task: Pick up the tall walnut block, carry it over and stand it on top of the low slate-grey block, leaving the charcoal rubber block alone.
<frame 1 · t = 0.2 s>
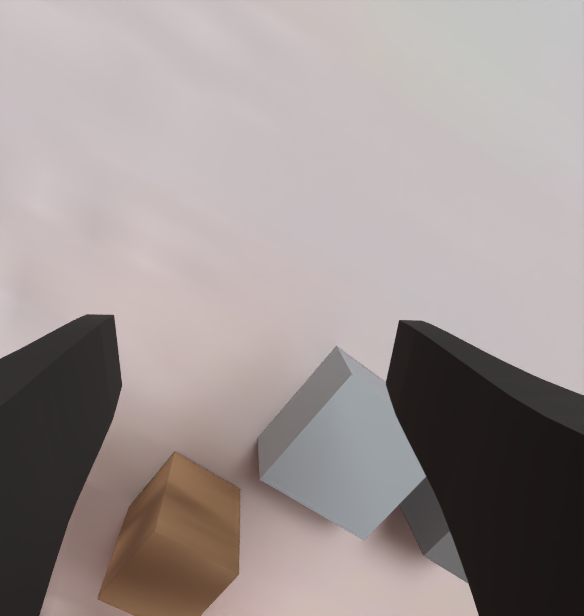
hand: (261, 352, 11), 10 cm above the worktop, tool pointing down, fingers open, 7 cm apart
slate base block: (342, 423, 24), on the worktop
walnut block: (185, 497, 24), on the worktop
charcoal block: (443, 484, 26), on the worktop
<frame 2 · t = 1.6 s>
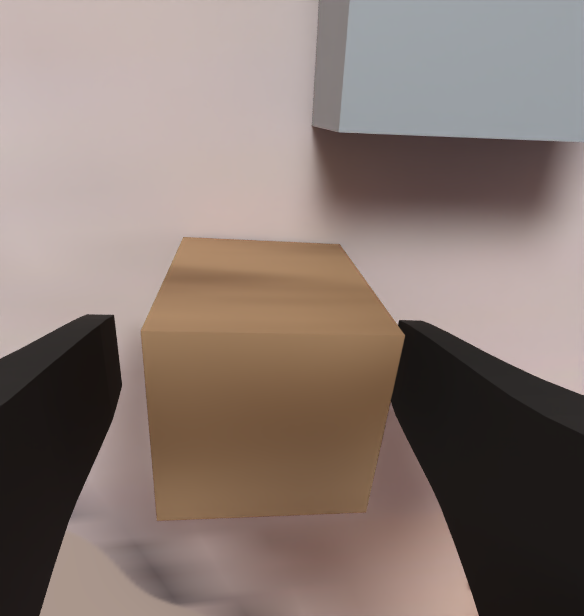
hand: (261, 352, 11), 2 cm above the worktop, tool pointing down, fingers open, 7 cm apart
walnut block: (259, 311, 13), on the worktop
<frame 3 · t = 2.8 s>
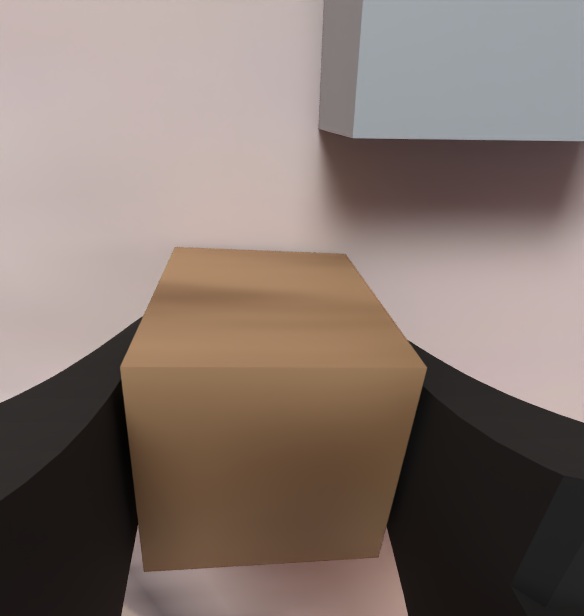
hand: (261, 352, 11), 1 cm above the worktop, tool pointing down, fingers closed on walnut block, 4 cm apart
walnut block: (258, 325, 12), on the worktop, touching gripper
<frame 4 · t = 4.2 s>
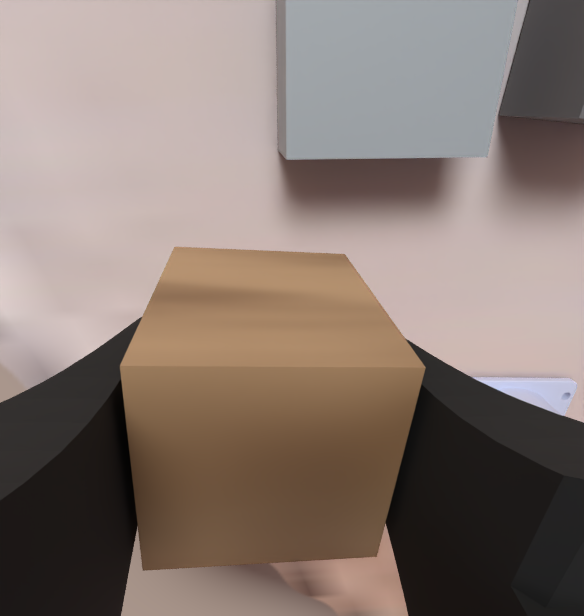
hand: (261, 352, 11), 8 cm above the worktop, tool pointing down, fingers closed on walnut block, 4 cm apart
slate base block: (369, 49, 16), on the worktop
walnut block: (258, 325, 12), point 7 cm above the worktop, touching gripper
charcoal block: (568, 57, 16), on the worktop
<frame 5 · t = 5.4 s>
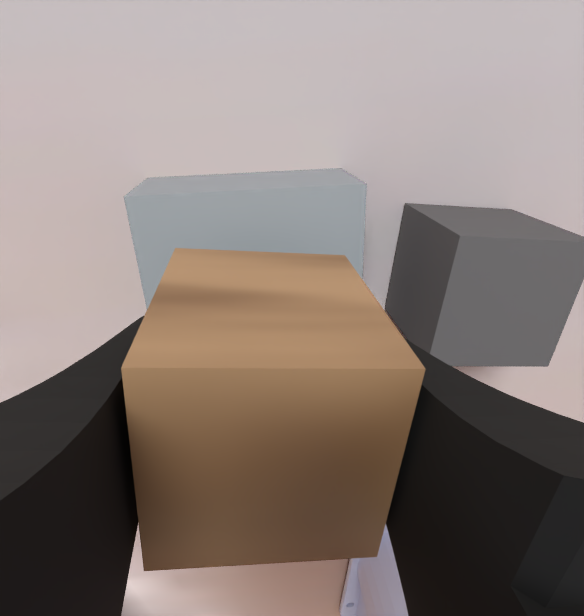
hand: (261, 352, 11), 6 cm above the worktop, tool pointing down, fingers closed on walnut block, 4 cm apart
slate base block: (253, 263, 17), on the worktop
walnut block: (258, 326, 12), point 5 cm above the worktop, touching gripper
charcoal block: (446, 260, 17), on the worktop
when the fingers open (6 cm above the worktop, at t = 5.9 s): walnut block drops 2 cm, point 3 cm above the worktop.
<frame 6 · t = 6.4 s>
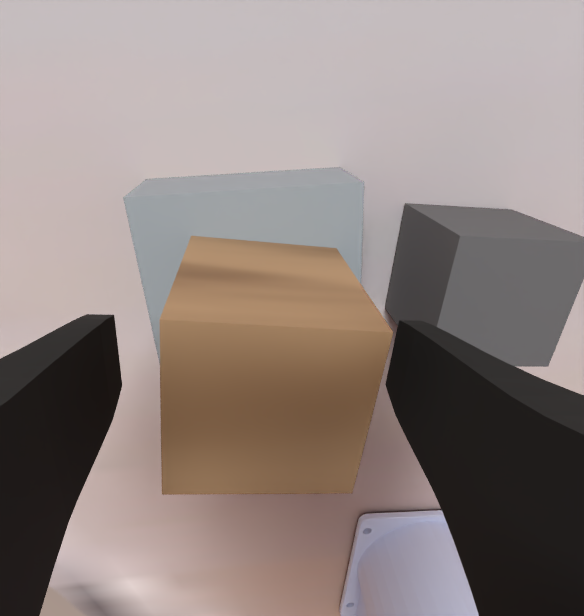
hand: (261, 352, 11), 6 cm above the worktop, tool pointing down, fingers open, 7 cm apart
slate base block: (253, 262, 17), on the worktop
walnut block: (259, 307, 14), point 3 cm above the worktop
charcoal block: (446, 260, 17), on the worktop
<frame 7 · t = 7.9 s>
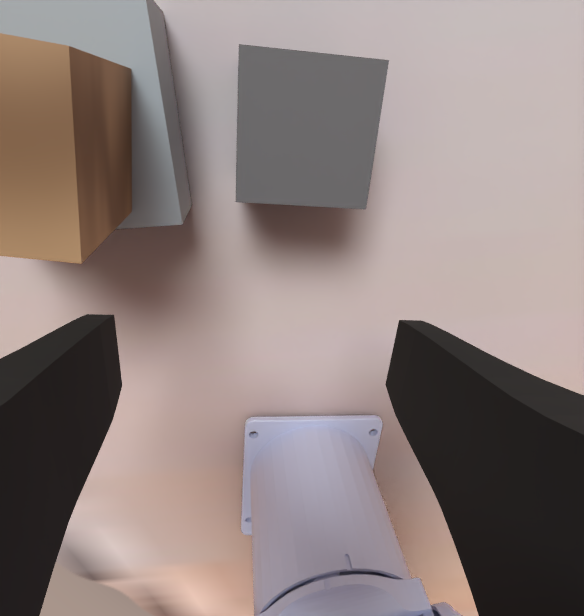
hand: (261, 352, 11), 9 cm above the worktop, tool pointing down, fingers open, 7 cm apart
slate base block: (90, 121, 17), on the worktop
walnut block: (59, 134, 14), point 3 cm above the worktop
charcoal block: (292, 127, 17), on the worktop
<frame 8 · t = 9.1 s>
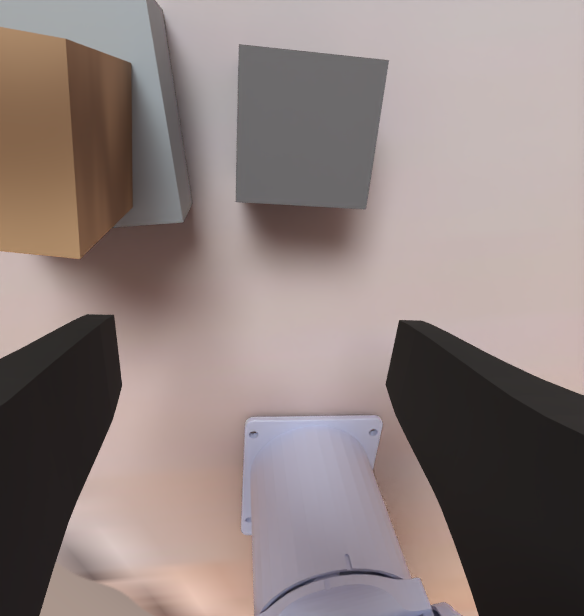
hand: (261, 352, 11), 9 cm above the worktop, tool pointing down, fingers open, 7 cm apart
slate base block: (89, 120, 17), on the worktop
walnut block: (59, 129, 14), point 3 cm above the worktop
charcoal block: (292, 127, 17), on the worktop
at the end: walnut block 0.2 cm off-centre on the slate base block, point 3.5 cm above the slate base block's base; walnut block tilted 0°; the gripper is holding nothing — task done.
